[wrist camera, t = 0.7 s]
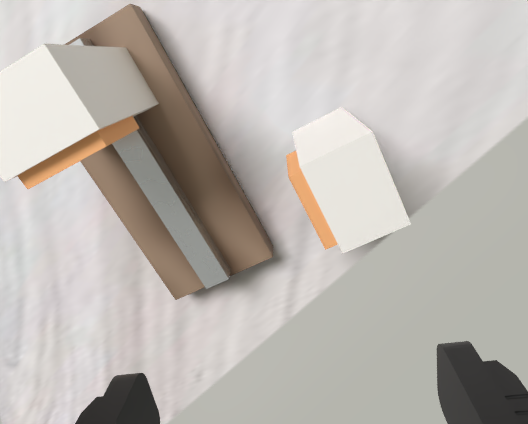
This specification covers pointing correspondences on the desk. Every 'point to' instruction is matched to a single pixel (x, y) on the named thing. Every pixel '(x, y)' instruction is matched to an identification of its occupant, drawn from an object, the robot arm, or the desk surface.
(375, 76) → the desk surface
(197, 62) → the desk surface
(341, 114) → the white block with pad
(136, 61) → the rail
